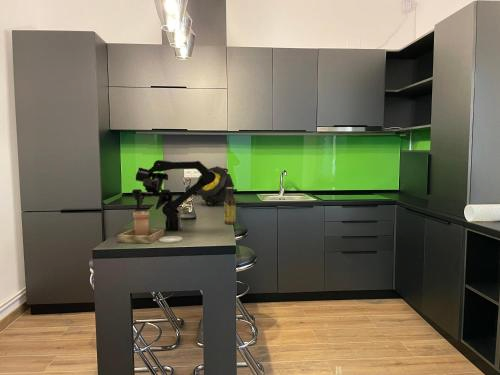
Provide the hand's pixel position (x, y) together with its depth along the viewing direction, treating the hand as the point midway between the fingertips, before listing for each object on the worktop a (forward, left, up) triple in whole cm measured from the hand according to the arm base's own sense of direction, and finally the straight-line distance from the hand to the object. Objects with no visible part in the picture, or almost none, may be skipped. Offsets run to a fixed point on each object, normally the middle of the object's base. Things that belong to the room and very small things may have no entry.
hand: (146, 208), depth 167 cm
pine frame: (0, +6, -13) cm, 14 cm away
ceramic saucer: (-14, +7, -13) cm, 20 cm away
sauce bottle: (-32, -35, -13) cm, 49 cm away
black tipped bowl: (-7, -106, -13) cm, 107 cm away
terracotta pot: (0, +6, -13) cm, 14 cm away
